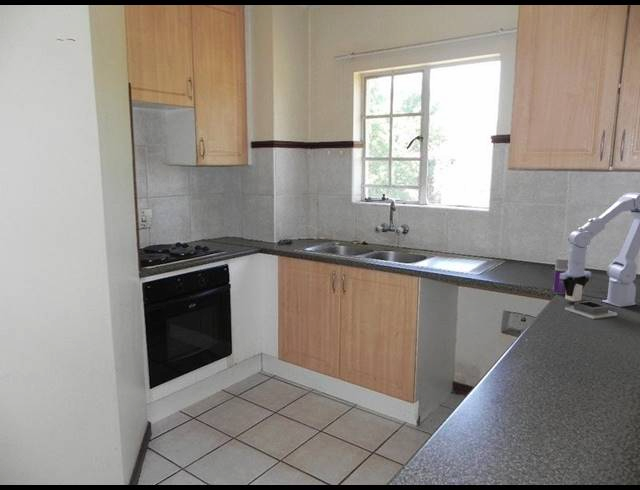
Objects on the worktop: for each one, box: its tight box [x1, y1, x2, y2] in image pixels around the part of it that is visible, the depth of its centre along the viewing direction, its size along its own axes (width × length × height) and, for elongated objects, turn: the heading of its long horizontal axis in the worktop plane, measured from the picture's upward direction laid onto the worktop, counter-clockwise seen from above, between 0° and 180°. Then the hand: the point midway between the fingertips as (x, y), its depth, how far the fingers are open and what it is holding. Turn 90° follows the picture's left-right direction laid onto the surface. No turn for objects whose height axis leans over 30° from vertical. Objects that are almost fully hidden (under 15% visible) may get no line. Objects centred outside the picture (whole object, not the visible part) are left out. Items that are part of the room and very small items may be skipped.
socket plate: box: [564, 300, 618, 320], centre depth 175 cm, size 12×12×3 cm
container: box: [552, 257, 569, 295], centre depth 201 cm, size 5×5×15 cm
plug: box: [564, 282, 583, 302], centre depth 187 cm, size 4×4×7 cm
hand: (573, 295), depth 187 cm, fingers closed on plug, 4 cm apart
